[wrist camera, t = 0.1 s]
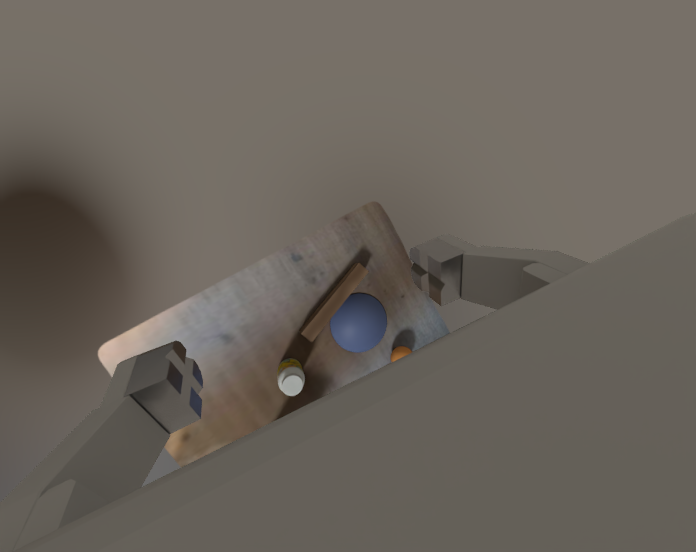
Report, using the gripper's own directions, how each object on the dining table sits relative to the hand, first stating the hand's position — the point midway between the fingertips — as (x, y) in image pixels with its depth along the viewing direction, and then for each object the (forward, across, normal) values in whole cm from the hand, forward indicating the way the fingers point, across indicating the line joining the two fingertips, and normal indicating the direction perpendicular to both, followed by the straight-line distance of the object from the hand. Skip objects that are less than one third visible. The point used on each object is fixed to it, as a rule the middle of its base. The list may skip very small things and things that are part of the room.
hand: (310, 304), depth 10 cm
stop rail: (+44, +9, -33) cm, 56 cm away
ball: (+32, +20, -48) cm, 61 cm away
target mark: (+40, +13, -40) cm, 58 cm away
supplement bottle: (+39, -5, -43) cm, 58 cm away
